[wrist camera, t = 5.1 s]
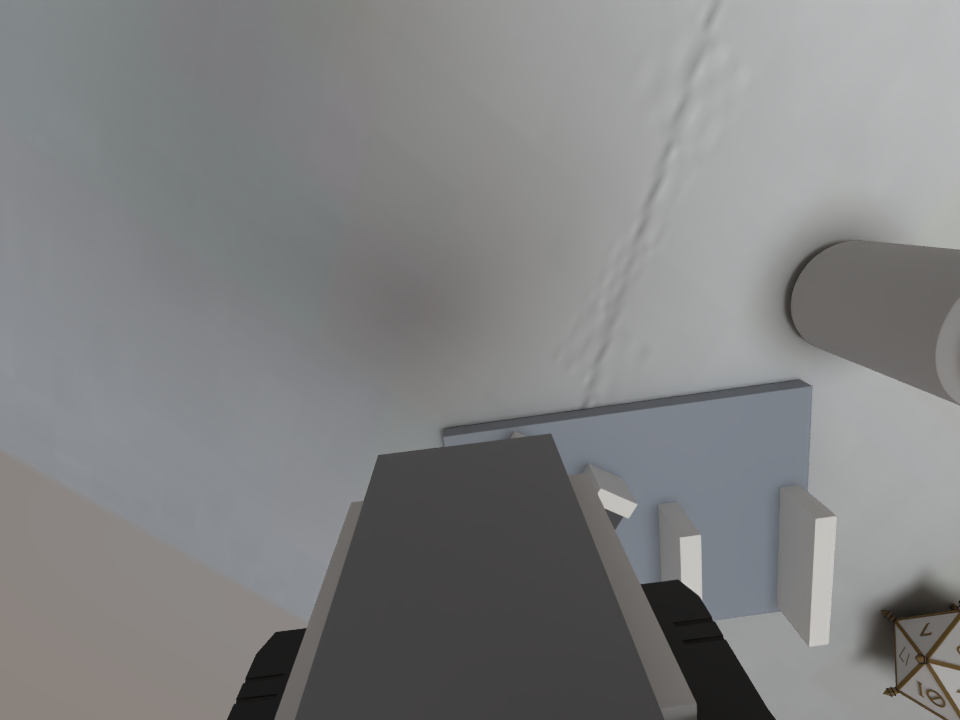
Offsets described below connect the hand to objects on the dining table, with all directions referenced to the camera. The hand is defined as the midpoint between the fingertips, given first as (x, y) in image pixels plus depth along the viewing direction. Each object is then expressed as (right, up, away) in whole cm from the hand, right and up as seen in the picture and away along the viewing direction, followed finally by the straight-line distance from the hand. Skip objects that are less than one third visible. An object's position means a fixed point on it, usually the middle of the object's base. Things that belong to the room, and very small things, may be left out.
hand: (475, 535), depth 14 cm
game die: (+31, -14, +25) cm, 43 cm away
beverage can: (+21, +8, +18) cm, 29 cm away
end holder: (+16, -8, +21) cm, 28 cm away
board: (+10, -6, +22) cm, 24 cm away
